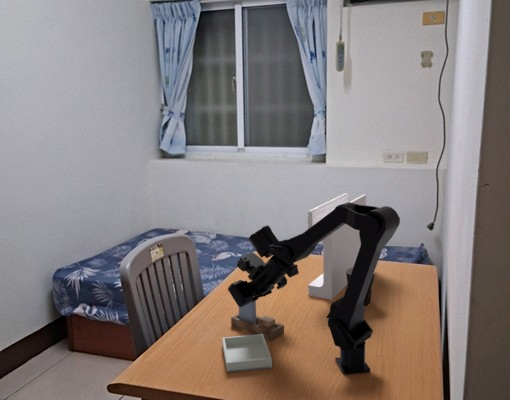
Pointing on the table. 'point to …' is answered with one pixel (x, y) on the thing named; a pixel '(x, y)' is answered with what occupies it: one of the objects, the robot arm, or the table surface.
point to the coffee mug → (369, 291)
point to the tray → (246, 353)
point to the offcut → (266, 322)
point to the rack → (257, 328)
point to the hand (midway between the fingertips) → (243, 300)
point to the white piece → (335, 250)
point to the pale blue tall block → (248, 312)
